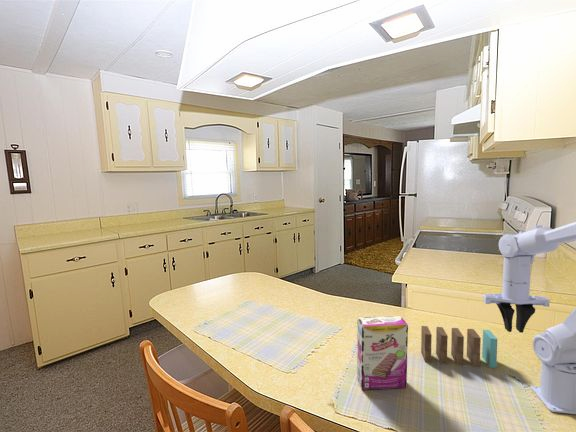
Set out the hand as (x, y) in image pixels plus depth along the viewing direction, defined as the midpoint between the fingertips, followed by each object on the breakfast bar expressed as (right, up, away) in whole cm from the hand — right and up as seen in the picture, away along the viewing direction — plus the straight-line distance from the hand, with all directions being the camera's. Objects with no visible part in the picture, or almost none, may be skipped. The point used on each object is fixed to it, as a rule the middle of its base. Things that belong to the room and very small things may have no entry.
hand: (513, 330), depth 83 cm
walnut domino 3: (-13, -10, +4) cm, 16 cm away
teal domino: (-5, -9, +2) cm, 11 cm away
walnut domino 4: (-9, -10, +3) cm, 13 cm away
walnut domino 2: (-17, -10, +5) cm, 20 cm away
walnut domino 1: (-21, -10, +6) cm, 23 cm away
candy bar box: (-36, -12, -5) cm, 38 cm away
